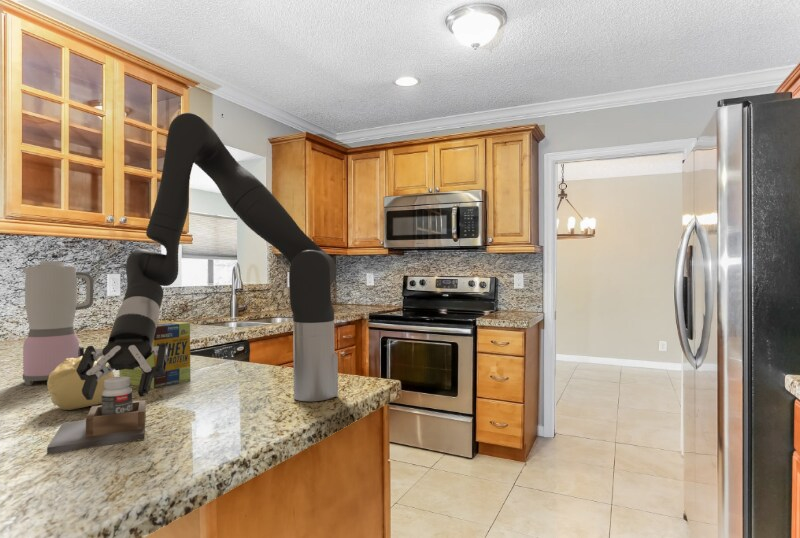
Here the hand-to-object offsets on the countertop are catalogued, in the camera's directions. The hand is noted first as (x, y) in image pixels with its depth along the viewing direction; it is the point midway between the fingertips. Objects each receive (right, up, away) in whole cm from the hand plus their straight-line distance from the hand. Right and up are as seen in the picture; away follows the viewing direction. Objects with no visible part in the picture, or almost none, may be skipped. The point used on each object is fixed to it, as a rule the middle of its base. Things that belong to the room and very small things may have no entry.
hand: (114, 396), depth 82 cm
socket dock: (-2, -7, 0) cm, 7 cm away
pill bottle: (0, -6, +1) cm, 6 cm away
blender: (-42, -8, +44) cm, 62 cm away
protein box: (-14, -7, +40) cm, 43 cm away
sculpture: (-18, -7, +18) cm, 26 cm away
